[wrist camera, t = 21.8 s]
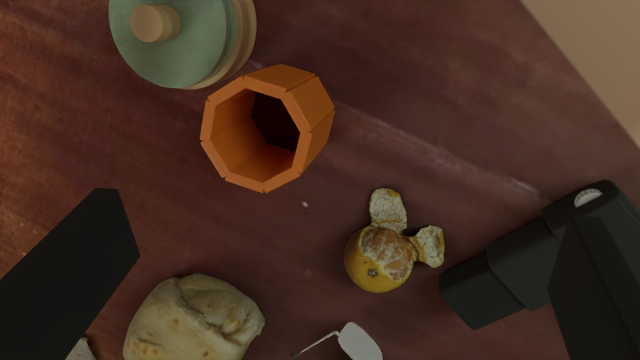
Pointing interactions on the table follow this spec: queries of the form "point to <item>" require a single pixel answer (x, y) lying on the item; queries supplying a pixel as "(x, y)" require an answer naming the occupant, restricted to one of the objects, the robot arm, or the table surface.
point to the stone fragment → (81, 351)
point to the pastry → (193, 321)
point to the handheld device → (535, 257)
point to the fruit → (389, 246)
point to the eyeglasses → (354, 343)
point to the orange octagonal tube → (245, 138)
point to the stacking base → (184, 39)
